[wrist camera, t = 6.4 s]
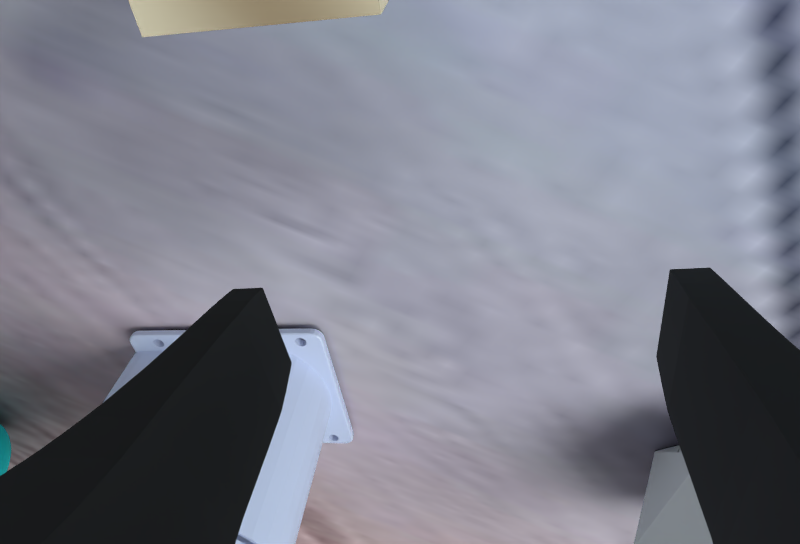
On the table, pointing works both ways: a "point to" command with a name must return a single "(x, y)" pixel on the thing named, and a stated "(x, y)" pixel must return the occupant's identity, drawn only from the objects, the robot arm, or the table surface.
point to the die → (671, 504)
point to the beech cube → (240, 13)
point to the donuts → (4, 450)
